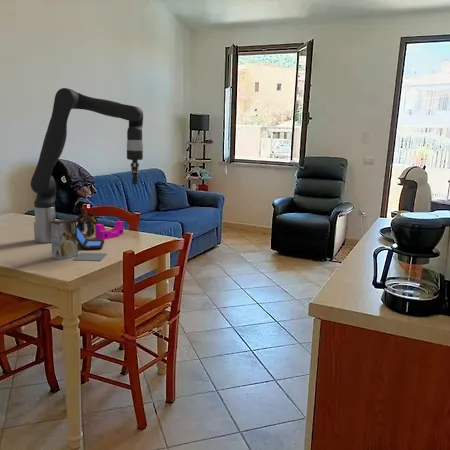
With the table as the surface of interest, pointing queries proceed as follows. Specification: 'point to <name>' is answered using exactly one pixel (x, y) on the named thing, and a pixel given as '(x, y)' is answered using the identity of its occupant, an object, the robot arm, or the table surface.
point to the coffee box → (64, 238)
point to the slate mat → (90, 256)
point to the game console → (88, 242)
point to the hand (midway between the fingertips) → (134, 183)
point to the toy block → (104, 234)
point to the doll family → (90, 222)
